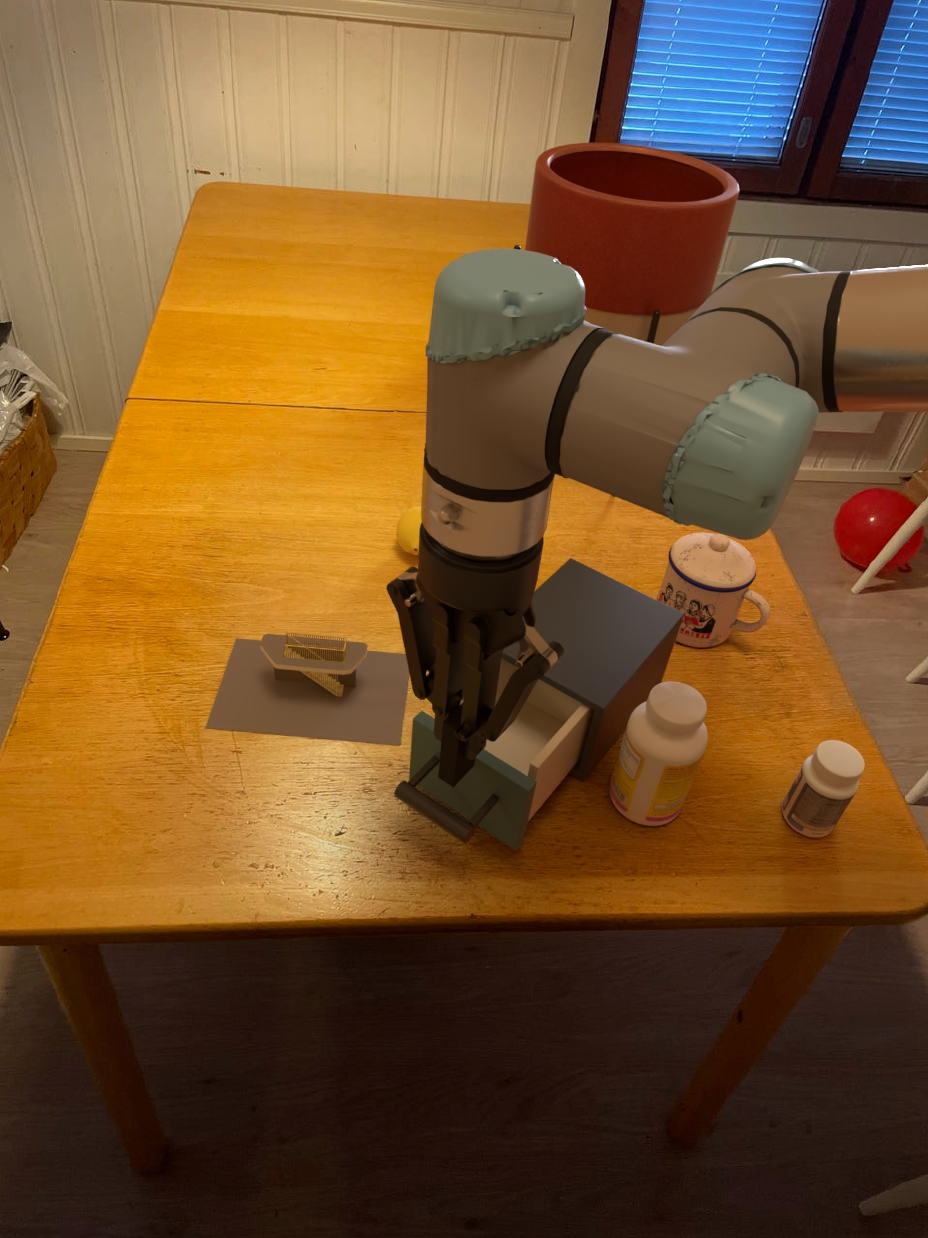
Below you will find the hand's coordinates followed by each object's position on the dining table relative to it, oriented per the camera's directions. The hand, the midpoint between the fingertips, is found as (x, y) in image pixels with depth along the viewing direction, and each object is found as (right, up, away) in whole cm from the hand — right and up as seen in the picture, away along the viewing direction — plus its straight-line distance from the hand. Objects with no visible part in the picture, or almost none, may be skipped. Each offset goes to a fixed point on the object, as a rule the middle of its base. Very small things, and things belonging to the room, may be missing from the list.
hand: (456, 771), depth 68 cm
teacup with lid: (+27, +11, +29) cm, 41 cm away
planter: (+18, +36, +55) cm, 68 cm away
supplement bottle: (+17, -4, +11) cm, 21 cm away
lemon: (-5, +20, +35) cm, 40 cm away
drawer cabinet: (+11, +4, +19) cm, 22 cm away
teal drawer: (+3, -2, +10) cm, 11 cm away
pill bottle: (+31, -6, +11) cm, 34 cm away
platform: (-14, +5, +17) cm, 23 cm away
